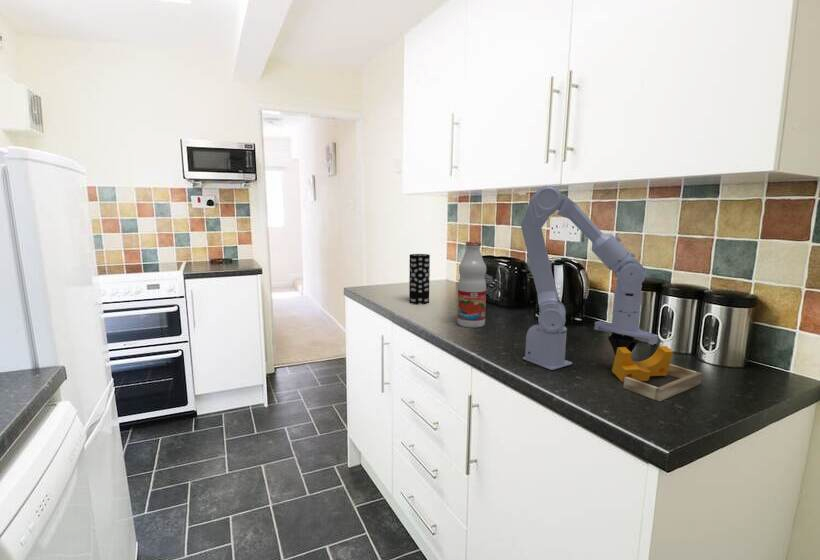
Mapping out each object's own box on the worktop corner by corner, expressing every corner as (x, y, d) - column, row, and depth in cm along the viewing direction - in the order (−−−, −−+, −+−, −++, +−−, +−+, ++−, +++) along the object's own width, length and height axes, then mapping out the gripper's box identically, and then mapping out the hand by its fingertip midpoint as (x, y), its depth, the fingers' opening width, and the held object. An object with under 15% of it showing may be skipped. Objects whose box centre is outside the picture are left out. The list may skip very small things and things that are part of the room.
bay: (623, 388, 94) (624, 377, 93) (665, 372, 103) (666, 362, 102) (659, 401, 87) (660, 390, 87) (700, 383, 96) (702, 373, 96)
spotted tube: (428, 300, 183) (428, 253, 180) (430, 304, 175) (430, 256, 172) (408, 300, 183) (408, 253, 179) (410, 304, 174) (410, 256, 171)
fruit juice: (483, 321, 149) (486, 241, 145) (486, 328, 140) (489, 243, 135) (456, 320, 150) (458, 240, 145) (457, 327, 141) (459, 242, 136)
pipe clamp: (621, 381, 97) (628, 357, 95) (611, 370, 101) (617, 347, 99) (671, 380, 98) (678, 355, 96) (659, 369, 102) (666, 345, 100)
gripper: (667, 314, 97) (661, 371, 99) (608, 302, 109) (604, 353, 111) (650, 318, 93) (644, 377, 95) (590, 305, 105) (587, 358, 107)
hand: (621, 365), depth 103 cm, fingers closed
